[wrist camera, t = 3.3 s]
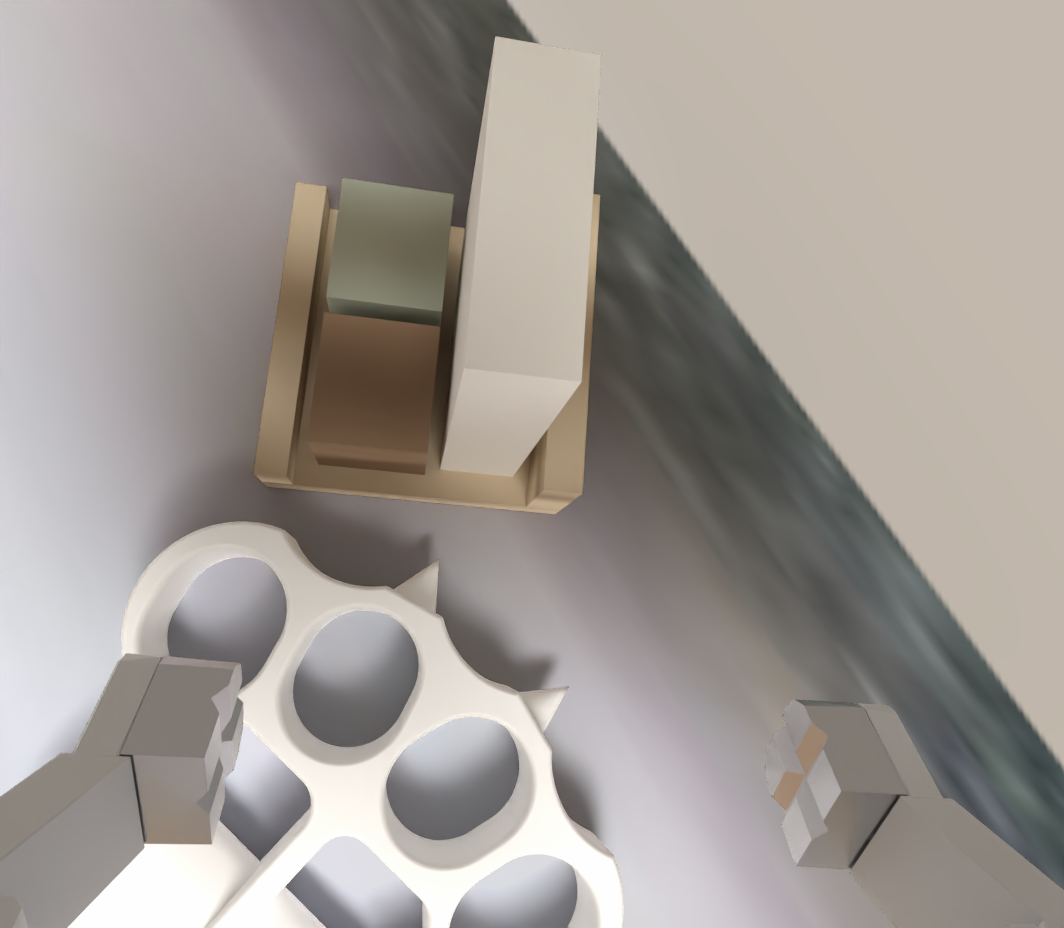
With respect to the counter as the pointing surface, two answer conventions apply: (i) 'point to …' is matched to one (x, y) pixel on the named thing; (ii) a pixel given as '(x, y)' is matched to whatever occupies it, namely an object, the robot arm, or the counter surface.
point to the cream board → (523, 257)
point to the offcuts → (381, 328)
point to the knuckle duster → (346, 762)
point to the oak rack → (544, 473)
